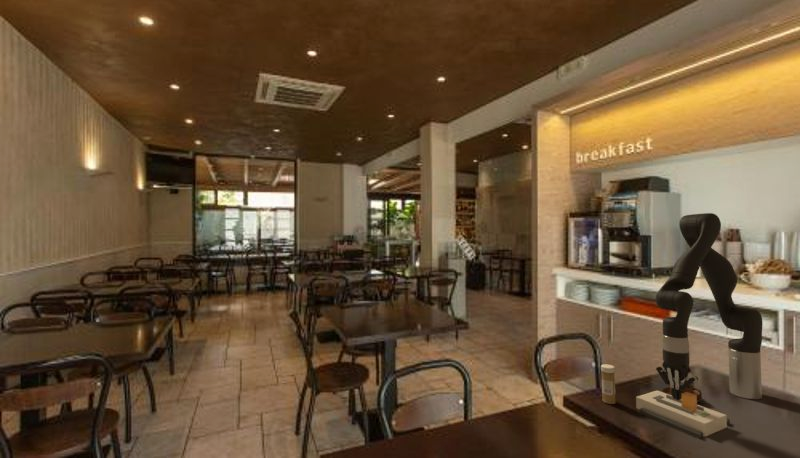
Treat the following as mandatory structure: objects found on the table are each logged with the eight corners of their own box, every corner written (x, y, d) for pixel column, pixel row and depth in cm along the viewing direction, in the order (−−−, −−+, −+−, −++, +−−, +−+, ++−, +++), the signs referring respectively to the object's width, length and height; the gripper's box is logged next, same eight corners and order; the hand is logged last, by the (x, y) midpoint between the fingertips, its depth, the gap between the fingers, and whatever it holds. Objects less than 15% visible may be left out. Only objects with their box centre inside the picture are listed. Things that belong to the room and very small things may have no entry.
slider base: (657, 400, 146) (657, 387, 146) (726, 427, 126) (726, 411, 126) (636, 407, 141) (636, 394, 141) (705, 436, 121) (704, 420, 121)
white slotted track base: (669, 400, 145) (669, 397, 145) (733, 424, 127) (733, 420, 127) (636, 412, 138) (636, 408, 138) (699, 438, 119) (699, 435, 119)
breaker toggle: (687, 405, 132) (686, 391, 132) (697, 409, 129) (696, 395, 129) (681, 407, 131) (681, 393, 131) (691, 411, 128) (691, 397, 128)
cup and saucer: (700, 396, 149) (699, 380, 149) (703, 408, 139) (703, 391, 139) (662, 389, 156) (662, 374, 156) (663, 401, 146) (662, 384, 146)
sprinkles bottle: (618, 402, 146) (617, 366, 146) (611, 405, 143) (610, 368, 143) (606, 398, 149) (605, 362, 149) (599, 401, 147) (598, 365, 147)
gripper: (703, 352, 129) (705, 404, 129) (662, 342, 141) (664, 389, 141) (690, 355, 126) (691, 409, 126) (649, 345, 138) (650, 394, 138)
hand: (677, 399), depth 134 cm, fingers closed
